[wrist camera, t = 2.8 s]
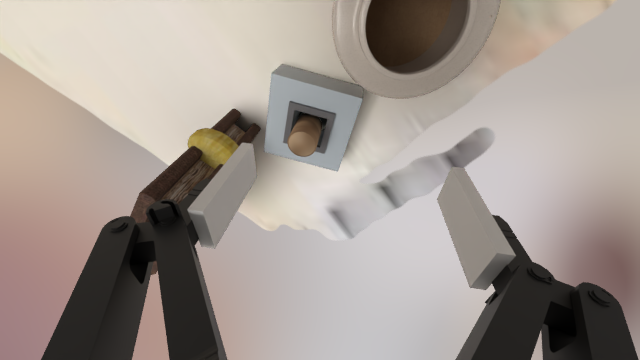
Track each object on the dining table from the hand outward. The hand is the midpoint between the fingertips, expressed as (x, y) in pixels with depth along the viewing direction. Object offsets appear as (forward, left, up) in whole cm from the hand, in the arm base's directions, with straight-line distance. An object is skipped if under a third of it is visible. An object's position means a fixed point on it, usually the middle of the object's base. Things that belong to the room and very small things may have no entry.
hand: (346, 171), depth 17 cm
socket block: (-5, -10, -29) cm, 31 cm away
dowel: (-5, -10, -24) cm, 26 cm away
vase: (+3, +8, -29) cm, 31 cm away
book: (-21, -22, -29) cm, 42 cm away
